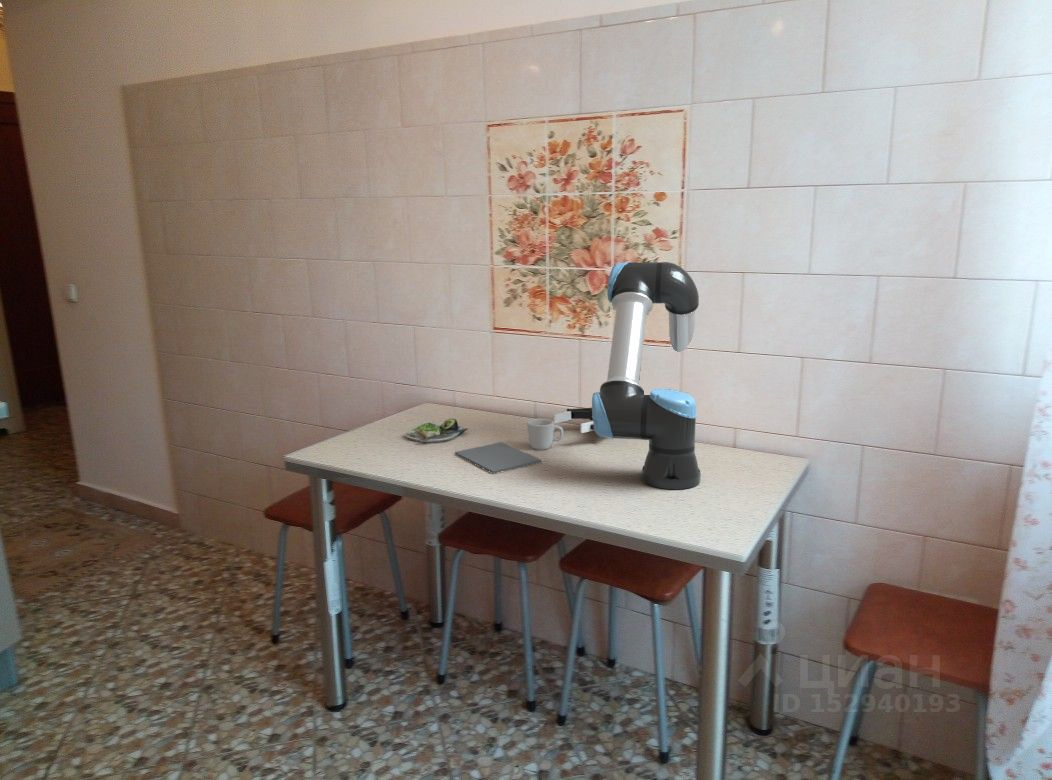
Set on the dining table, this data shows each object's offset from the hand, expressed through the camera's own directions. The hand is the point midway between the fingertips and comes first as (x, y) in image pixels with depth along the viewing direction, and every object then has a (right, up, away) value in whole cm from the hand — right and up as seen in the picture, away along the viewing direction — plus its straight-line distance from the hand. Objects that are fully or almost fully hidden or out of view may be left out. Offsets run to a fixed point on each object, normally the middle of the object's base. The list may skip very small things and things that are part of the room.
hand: (566, 423), depth 223 cm
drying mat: (-21, -9, -13) cm, 26 cm away
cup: (-7, -7, -3) cm, 10 cm away
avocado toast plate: (-41, -5, +11) cm, 43 cm away
